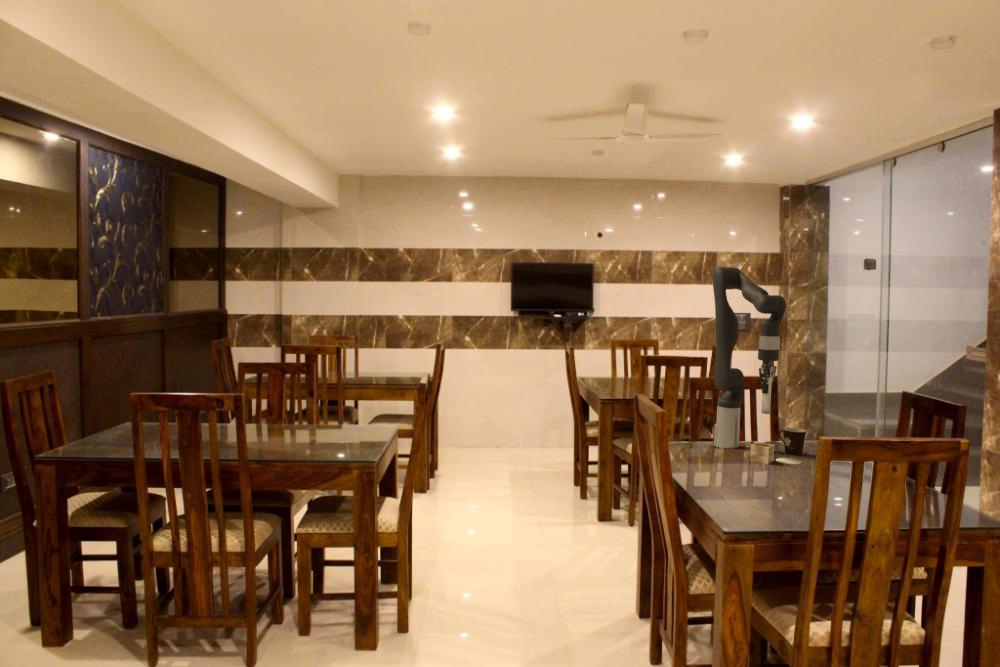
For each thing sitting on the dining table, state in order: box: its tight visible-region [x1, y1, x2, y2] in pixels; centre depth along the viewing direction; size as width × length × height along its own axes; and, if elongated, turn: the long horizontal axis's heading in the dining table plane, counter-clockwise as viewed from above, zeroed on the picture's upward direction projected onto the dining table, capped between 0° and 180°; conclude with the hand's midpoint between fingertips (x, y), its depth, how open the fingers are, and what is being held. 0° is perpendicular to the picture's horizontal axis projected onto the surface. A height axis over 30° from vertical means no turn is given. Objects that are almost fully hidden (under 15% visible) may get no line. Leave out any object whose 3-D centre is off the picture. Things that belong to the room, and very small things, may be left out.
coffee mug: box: [778, 427, 807, 457], centre depth 292 cm, size 12×9×10 cm
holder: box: [749, 442, 775, 465], centre depth 275 cm, size 7×7×7 cm
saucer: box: [775, 457, 802, 465], centre depth 275 cm, size 9×9×1 cm
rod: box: [761, 377, 772, 415], centre depth 273 cm, size 3×3×14 cm
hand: (766, 392), depth 273 cm, fingers closed on rod, 3 cm apart
